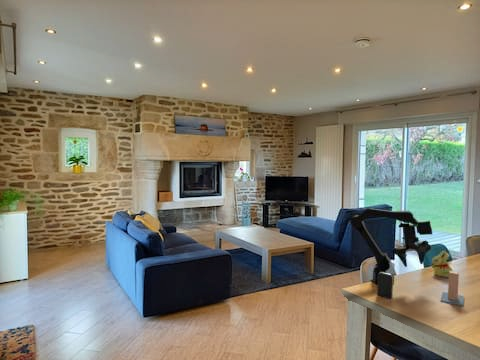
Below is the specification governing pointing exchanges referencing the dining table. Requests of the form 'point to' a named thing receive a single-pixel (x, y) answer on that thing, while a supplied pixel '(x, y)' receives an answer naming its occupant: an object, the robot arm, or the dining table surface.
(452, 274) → the block
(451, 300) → the mat
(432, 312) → the dining table surface
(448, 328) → the dining table surface
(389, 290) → the battery charger
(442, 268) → the chocolate bunny
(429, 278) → the dining table surface
